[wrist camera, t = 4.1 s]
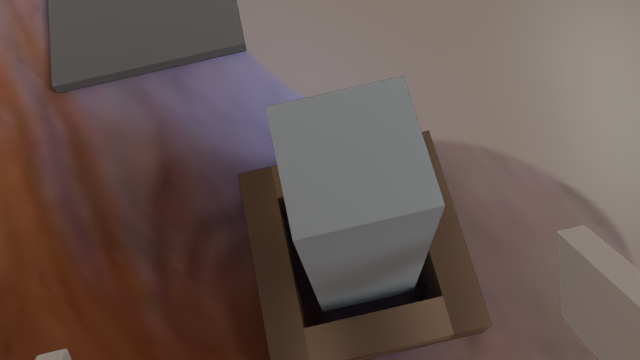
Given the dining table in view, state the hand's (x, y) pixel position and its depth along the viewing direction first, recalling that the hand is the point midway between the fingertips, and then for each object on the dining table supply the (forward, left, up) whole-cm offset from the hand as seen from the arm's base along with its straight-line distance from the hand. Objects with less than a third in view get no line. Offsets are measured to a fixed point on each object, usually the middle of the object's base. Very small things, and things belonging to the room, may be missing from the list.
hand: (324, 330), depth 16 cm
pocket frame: (-2, -4, -9) cm, 10 cm away
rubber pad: (+6, -21, -9) cm, 24 cm away
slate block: (-2, -4, -10) cm, 11 cm away
